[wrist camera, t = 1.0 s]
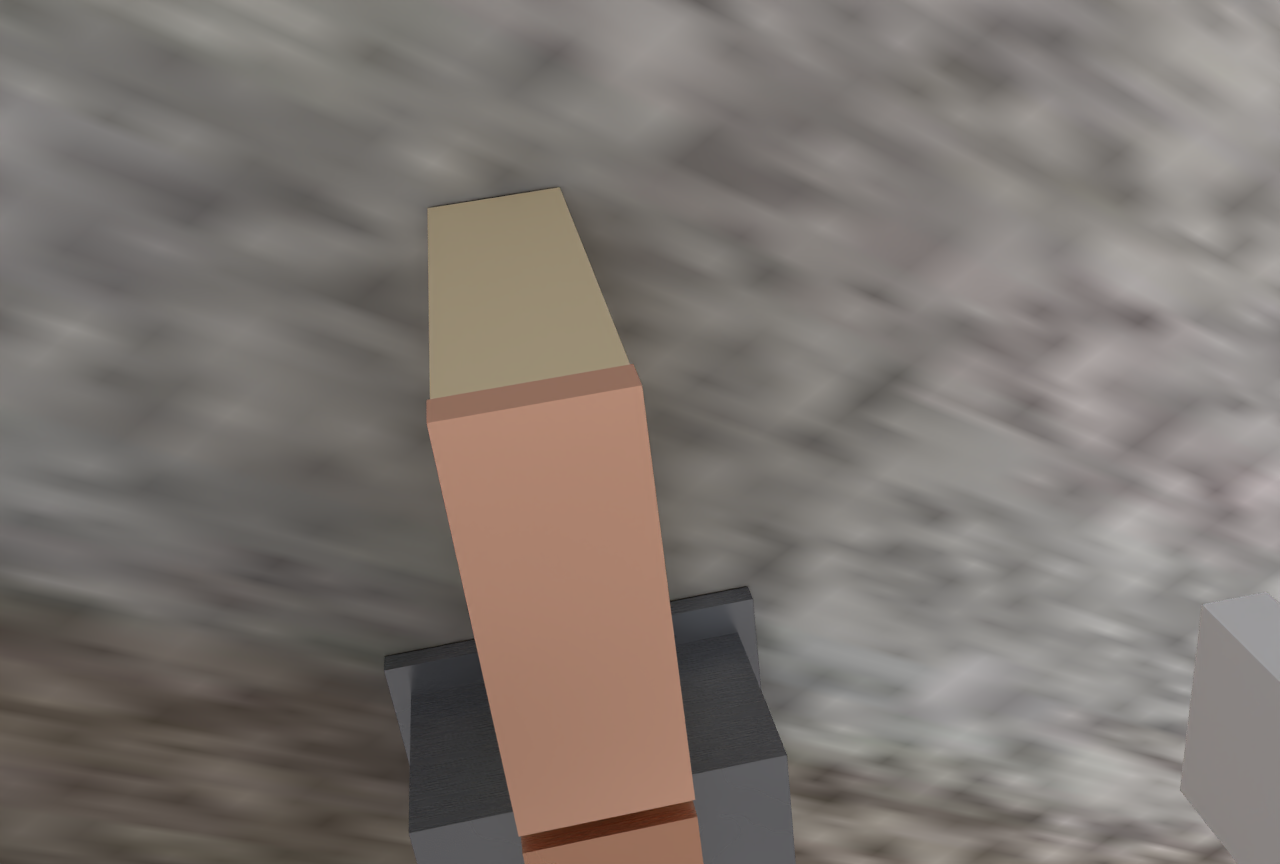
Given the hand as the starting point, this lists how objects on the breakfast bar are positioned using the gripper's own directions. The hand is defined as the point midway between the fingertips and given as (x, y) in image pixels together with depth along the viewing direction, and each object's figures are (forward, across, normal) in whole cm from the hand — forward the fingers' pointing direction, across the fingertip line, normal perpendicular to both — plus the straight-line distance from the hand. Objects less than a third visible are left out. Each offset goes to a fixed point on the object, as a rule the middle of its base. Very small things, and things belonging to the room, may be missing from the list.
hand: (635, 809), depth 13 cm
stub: (+17, 0, -2) cm, 17 cm away
